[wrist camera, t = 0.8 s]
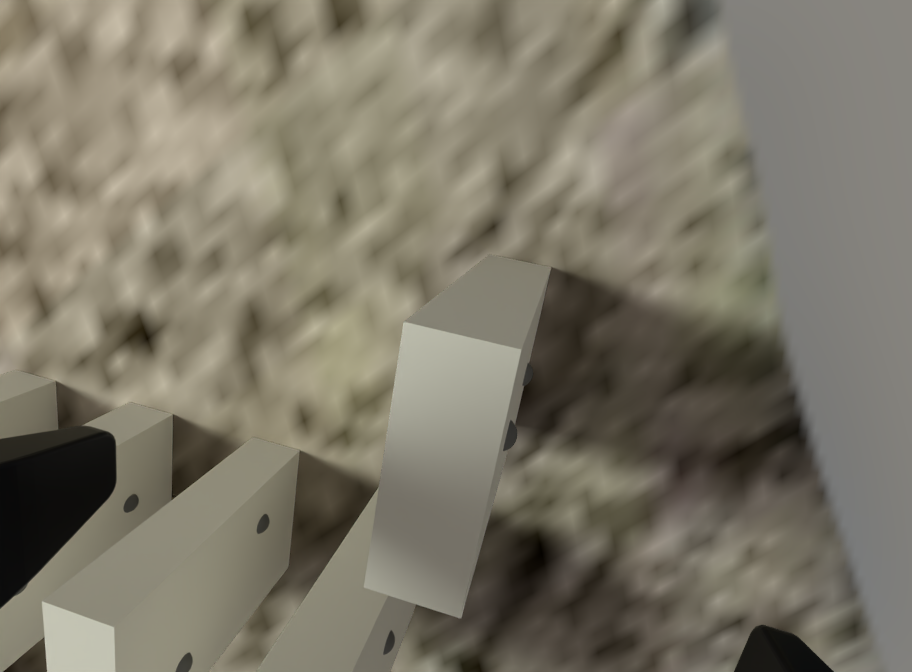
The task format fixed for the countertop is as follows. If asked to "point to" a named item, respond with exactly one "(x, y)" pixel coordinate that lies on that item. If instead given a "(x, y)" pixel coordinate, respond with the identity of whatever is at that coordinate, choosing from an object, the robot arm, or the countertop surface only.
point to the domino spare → (452, 430)
